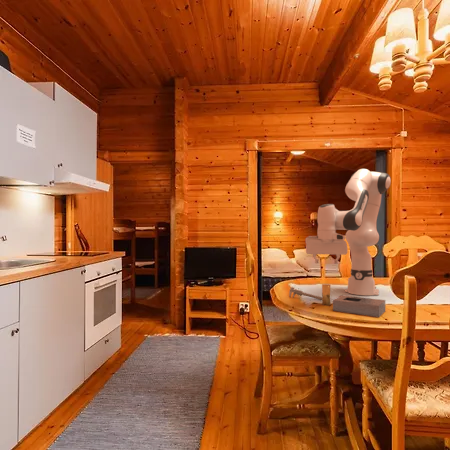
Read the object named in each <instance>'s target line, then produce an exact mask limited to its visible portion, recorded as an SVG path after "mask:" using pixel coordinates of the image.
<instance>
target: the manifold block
mask: <svg viewBox="0 0 450 450" xmlns="http://www.w3.org/2000/svg"><path fill="white" fill-rule="evenodd" d="M332 312H338V313H346V314H353V315H359V316H360V315H361V316H366V315H367V316H369V317H373V318H374V317H375V318H380V317H382V315H383V314H384V313H385V312H386V299H377V298H370V297H360V296H350V295H343V294H342V295H340V296H338V297H336V298H334V299H332Z"/></svg>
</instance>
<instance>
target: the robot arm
mask: <svg viewBox="0 0 450 450" xmlns="http://www.w3.org/2000/svg"><path fill="white" fill-rule="evenodd" d="M391 180H392V178H391V176H390V174H388V173H386V172H379V171H370V170H369V169H367V168H359V169H358V170H357V171H355V172H354V173H353V174H351V176H350V179H349V180H348V182H347V183H346V186H345V189H344V192H345V195H346V196H347V197H348V198H349V199H350V200H352V201H354V202H355V203H354V206H353V208H352V209H350V210H338V209H337V208H336V207H335V204H333V203H326V204H322V205H320V206H319V207H318V208H317V209H318V210H317V217H316V219H317V232H316V233H317V235H308V236H306V238H305V244H306V246H305V253H306V254H307V255H312V257H313V260H314V263H315V264H319V259H317V255H335V256H336V259H333V264H337V265H338V262H339V259H340V258H341V256H342V255H345V256H346V255H347V254H348V247H349V250H350V256H351V268H350V276H349V277H348V279H347V289H345V290H344V291H345V293H349V294H352V295H357V296H379V295H380V290H379V289H377V286H376V282H375V279H374V277H373V274H374V273H373V269H372V265H373V264H372V261H373V260H372V259H373V258H372V255H371V253H370V252H369V248H368V247H371V246H372V247H373V246H375V245H376V244H378V242H379V240H380V235H379V232H378V230H377V221H378V220H377V219H378V216H379V211H380V208H381V203H382V194H384V193H385V192H386V191H388V189H389V188H390V187H391V183H392V182H391ZM337 230H339V231H340V230H342V231H343V230H344V231H345V230H346V233H345V234H340V233H337ZM347 243H348V244H347Z"/></svg>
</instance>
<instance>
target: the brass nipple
mask: <svg viewBox="0 0 450 450" xmlns="http://www.w3.org/2000/svg"><path fill="white" fill-rule="evenodd" d="M321 297H322V300H321V305H322V306H331V284H328V283H322V284H321Z"/></svg>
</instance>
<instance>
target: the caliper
mask: <svg viewBox="0 0 450 450" xmlns="http://www.w3.org/2000/svg"><path fill="white" fill-rule="evenodd" d="M288 292H289V294H288V296H289V298H292V299H293V298H295V296H296V295H297V296H300V297H303V296H305V297H308V298H311V299H312V298H313V299H316V300H319V301H322V296H318V295H314V294H311V293H308V292H304V291H302V290H298V289H295V287H293V286H291V288H290V289H289V291H288ZM291 296H292V297H291Z"/></svg>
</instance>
